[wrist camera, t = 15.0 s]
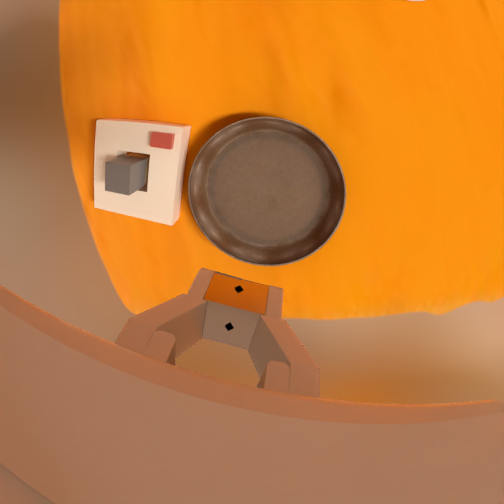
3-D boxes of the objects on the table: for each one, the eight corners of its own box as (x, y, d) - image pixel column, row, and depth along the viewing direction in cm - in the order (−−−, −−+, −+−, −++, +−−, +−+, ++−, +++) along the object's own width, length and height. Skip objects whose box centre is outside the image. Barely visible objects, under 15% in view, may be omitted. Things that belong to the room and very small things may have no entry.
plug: (131, 151, 37) (105, 162, 31) (154, 155, 37) (130, 165, 31) (130, 176, 39) (104, 190, 33) (152, 180, 39) (129, 195, 33)
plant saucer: (312, 271, 43) (313, 283, 40) (185, 234, 43) (178, 244, 40) (362, 145, 33) (369, 148, 30) (211, 101, 33) (204, 100, 30)
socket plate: (108, 117, 34) (93, 120, 31) (191, 125, 34) (180, 127, 31) (104, 201, 41) (91, 209, 38) (179, 217, 41) (169, 227, 38)
